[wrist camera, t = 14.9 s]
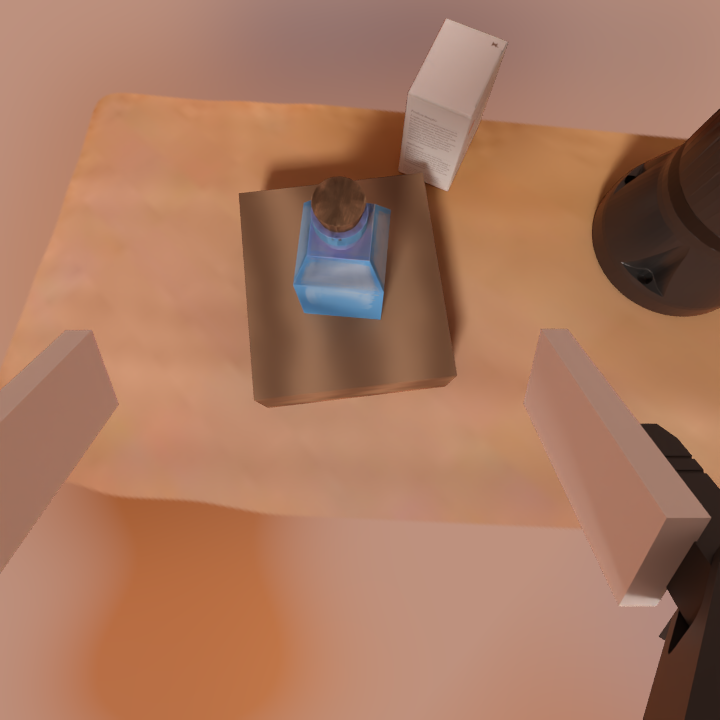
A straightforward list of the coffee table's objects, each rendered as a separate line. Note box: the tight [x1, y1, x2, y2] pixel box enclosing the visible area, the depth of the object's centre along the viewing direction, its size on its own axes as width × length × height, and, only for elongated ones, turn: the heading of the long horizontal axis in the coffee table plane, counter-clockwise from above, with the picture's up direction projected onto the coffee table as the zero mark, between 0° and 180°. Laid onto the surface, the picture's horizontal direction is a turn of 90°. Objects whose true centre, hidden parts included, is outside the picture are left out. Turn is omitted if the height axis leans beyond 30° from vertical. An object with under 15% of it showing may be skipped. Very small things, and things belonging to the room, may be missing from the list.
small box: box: [398, 19, 508, 191], centre depth 42 cm, size 8×6×10 cm
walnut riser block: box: [239, 173, 457, 408], centre depth 41 cm, size 16×18×6 cm
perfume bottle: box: [293, 177, 391, 320], centre depth 32 cm, size 6×6×12 cm
